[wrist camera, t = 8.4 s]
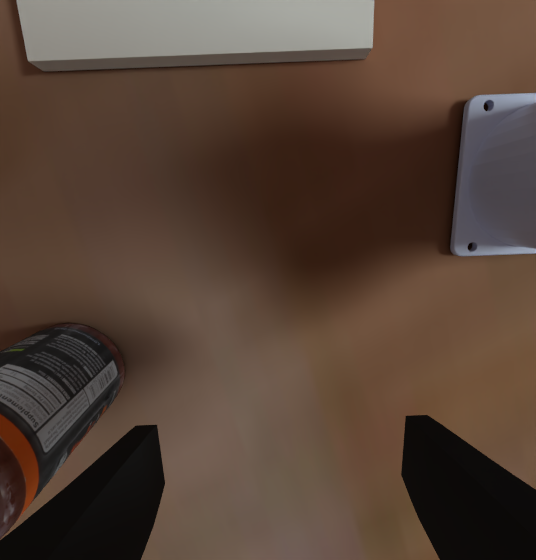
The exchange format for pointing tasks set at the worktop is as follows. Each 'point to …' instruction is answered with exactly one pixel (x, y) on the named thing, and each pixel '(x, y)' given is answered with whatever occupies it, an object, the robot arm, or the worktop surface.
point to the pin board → (192, 32)
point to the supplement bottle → (50, 406)
